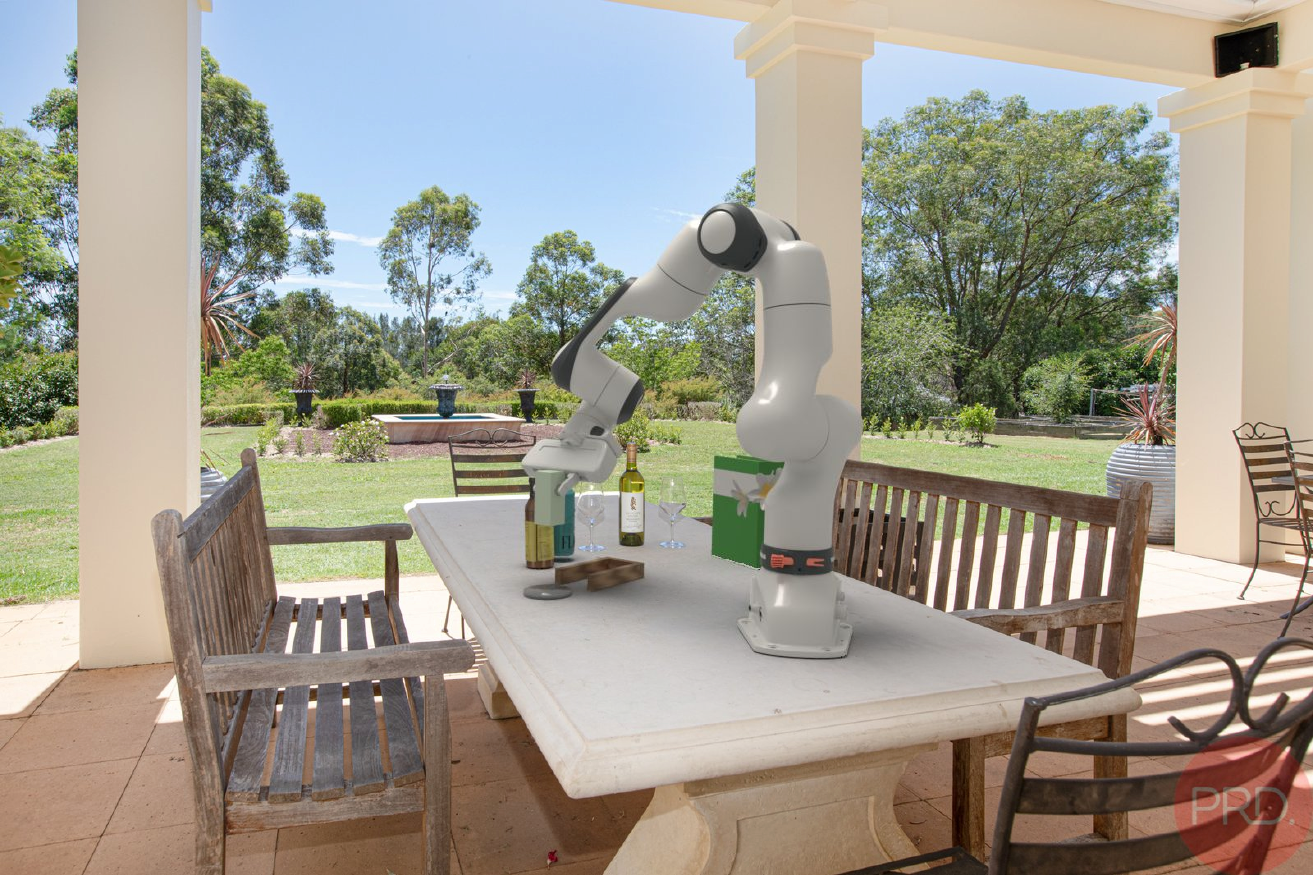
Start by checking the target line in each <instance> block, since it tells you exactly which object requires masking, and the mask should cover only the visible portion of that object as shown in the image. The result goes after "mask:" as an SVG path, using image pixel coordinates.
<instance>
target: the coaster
mask: <svg viewBox="0 0 1313 875" xmlns="http://www.w3.org/2000/svg"><path fill="white" fill-rule="evenodd" d="M522 591H523V592H522V594H523V596H524V597H525V598H527V599H531V600H539V601H540V600H541V601H547V600H548V601H551V600H561V599H565V598H569V597H571V595H572V588H570V587H568V586H565V585H563V584H552V583H551V584H550V583H549V584H544V583H543V584H534V585H530V586H526V587H524V588H523V590H522Z"/></svg>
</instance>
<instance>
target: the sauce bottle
mask: <svg viewBox="0 0 1313 875" xmlns="http://www.w3.org/2000/svg"><path fill="white" fill-rule="evenodd" d="M528 483H529V499H528V500H527V502H526V503H525V506H524V533H525V534H524V544H525V545H524V546H525V547H524V549H525V550H524V551H525V562H526V567H528V568H529V569H536V568H538V569H540V570H541V568H543V569H549V568H552V567H553V566H554V564H555V556H554V526H545V525H538V524H534V522H535V491H534V490H533V487H534V485H535V477H533V476H528ZM538 569H537V570H538Z"/></svg>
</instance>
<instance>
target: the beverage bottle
mask: <svg viewBox="0 0 1313 875" xmlns="http://www.w3.org/2000/svg"><path fill="white" fill-rule="evenodd" d="M575 495H576V492H575V490H574V489H573V488H572V489H570V490H568V492H567V493H566V495H565V524H561V525H555V526H554V557H569V556H573V555H574V554H575V551H576V548H575V547H576V546H575V545H576V536H575V535H576V533H575V531H576V527H575V523H576V522H575V521H576V520H575V518H576V496H575Z"/></svg>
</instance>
